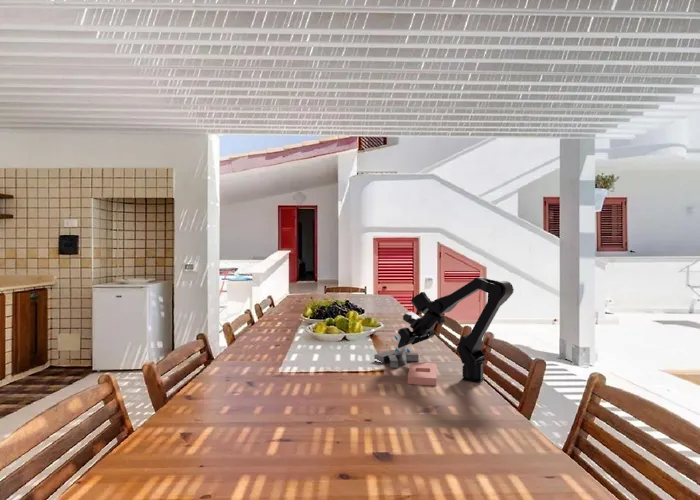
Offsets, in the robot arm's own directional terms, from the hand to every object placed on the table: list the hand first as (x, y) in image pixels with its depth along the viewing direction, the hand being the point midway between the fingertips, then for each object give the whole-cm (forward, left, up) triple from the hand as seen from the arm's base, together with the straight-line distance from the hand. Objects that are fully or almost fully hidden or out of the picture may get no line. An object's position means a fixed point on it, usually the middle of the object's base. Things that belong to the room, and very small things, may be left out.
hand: (405, 345), depth 185 cm
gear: (+11, -19, -8) cm, 23 cm away
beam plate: (-13, +13, -8) cm, 20 cm away
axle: (+2, 0, -8) cm, 8 cm away
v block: (+5, -1, -8) cm, 9 cm away
